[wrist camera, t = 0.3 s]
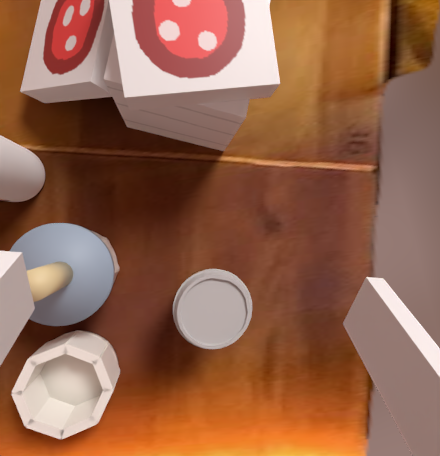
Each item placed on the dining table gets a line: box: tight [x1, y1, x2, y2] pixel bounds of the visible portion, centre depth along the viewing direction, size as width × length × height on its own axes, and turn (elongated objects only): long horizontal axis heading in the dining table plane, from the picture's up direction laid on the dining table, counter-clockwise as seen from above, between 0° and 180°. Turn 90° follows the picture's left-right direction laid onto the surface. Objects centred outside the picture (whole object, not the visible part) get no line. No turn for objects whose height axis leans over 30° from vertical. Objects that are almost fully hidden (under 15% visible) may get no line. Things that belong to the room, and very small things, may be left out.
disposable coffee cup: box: [173, 269, 252, 349], centre depth 41 cm, size 10×10×12 cm
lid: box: [10, 223, 115, 326], centre depth 34 cm, size 13×13×8 cm
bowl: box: [11, 330, 120, 439], centre depth 41 cm, size 11×11×6 cm
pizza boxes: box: [20, 0, 280, 151], centre depth 36 cm, size 19×30×18 cm, turn 78°
